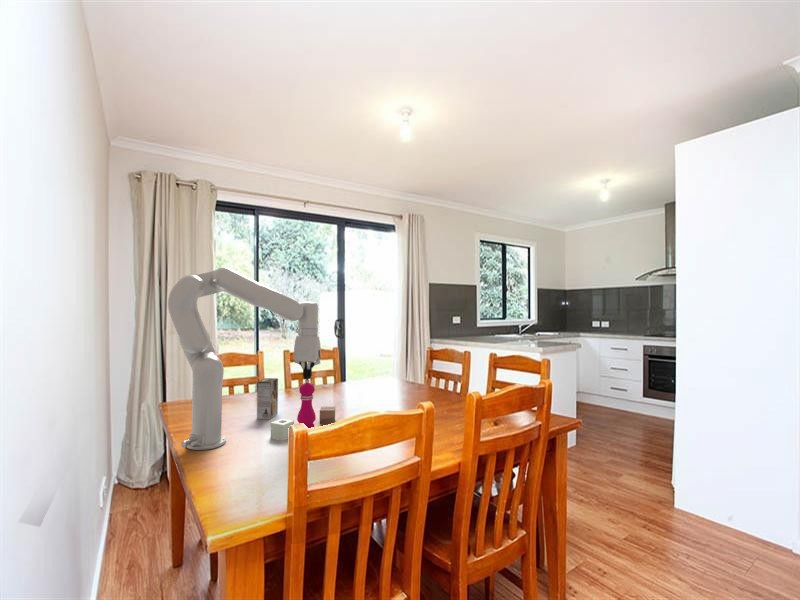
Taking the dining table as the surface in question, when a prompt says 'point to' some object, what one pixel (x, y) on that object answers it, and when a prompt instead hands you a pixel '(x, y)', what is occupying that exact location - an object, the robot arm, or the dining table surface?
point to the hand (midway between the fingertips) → (307, 378)
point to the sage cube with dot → (280, 429)
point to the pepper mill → (306, 404)
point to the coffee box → (267, 398)
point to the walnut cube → (327, 415)
